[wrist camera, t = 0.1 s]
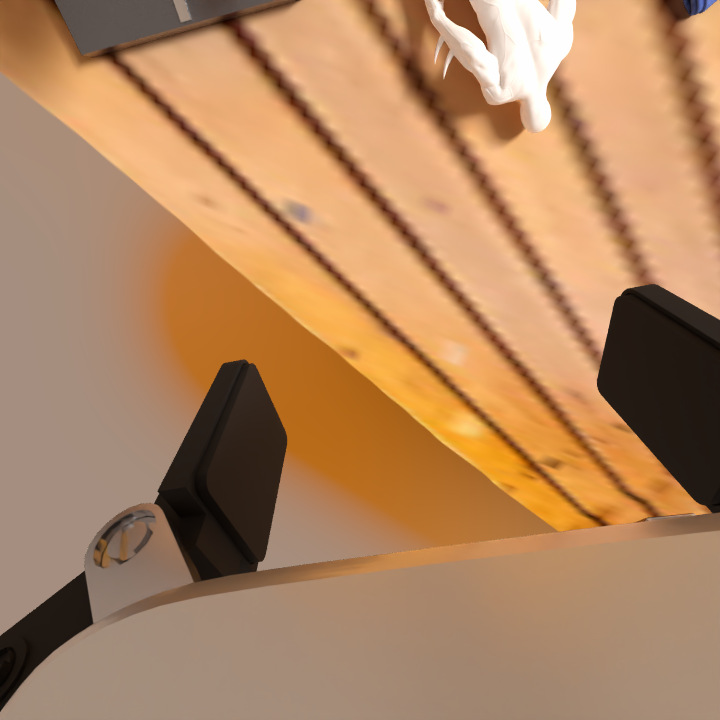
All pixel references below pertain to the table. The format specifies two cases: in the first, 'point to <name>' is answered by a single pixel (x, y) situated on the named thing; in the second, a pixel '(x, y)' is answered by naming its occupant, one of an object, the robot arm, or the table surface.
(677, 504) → the table surface
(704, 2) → the dish towel
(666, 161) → the table surface
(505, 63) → the superhero figure
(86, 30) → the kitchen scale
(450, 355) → the table surface
